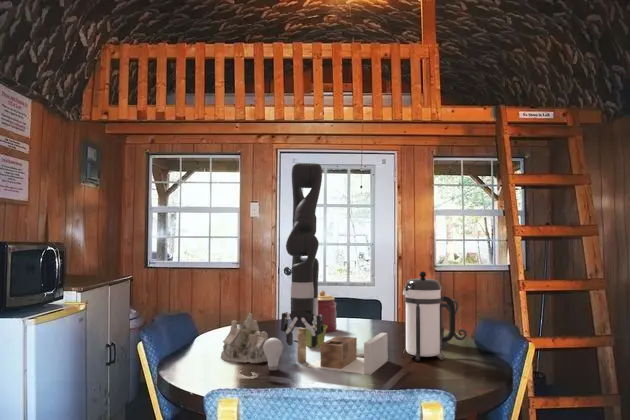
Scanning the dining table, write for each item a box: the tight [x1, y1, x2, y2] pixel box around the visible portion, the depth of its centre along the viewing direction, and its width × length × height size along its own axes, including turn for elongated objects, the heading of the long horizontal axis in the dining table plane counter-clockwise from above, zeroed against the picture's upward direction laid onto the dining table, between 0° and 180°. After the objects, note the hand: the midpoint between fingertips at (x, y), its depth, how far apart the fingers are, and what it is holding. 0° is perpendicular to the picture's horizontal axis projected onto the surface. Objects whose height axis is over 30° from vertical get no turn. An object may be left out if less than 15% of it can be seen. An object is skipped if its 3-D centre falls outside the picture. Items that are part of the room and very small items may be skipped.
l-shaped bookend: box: [306, 332, 389, 375], centre depth 166 cm, size 21×18×10 cm
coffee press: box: [401, 270, 456, 363], centre depth 182 cm, size 17×16×30 cm
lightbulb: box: [263, 337, 284, 371], centre depth 159 cm, size 6×6×11 cm
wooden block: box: [357, 352, 364, 358], centre depth 174 cm, size 10×3×3 cm, turn 65°
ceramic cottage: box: [220, 313, 270, 364], centre depth 179 cm, size 16×16×15 cm
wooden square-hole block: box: [320, 335, 358, 369], centre depth 167 cm, size 7×14×7 cm, turn 156°
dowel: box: [296, 328, 307, 364], centre depth 168 cm, size 3×3×12 cm
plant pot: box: [304, 324, 328, 348], centre depth 192 cm, size 9×9×9 cm
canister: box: [318, 290, 338, 333], centre depth 232 cm, size 13×13×18 cm
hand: (301, 346), depth 168 cm, fingers open, 8 cm apart
